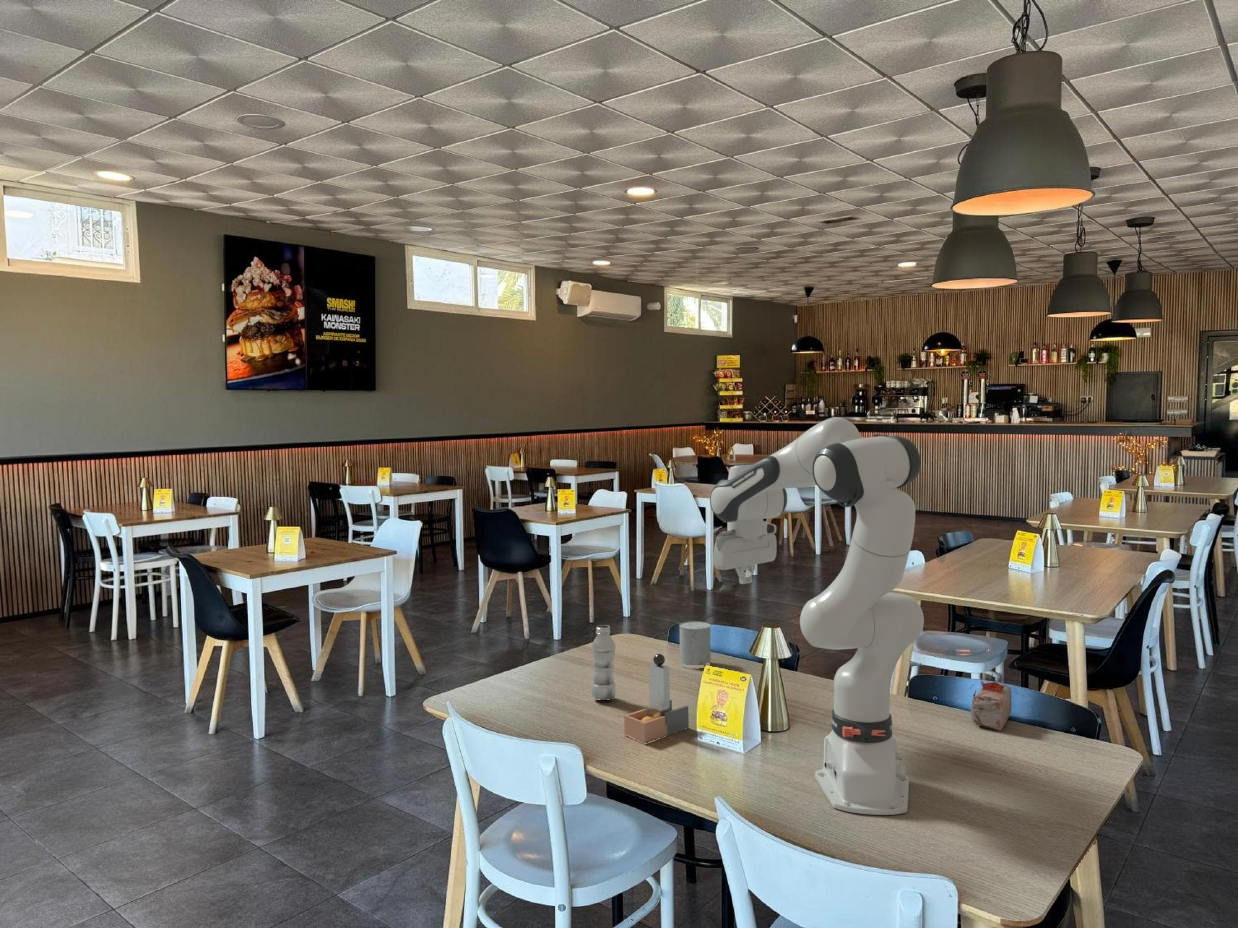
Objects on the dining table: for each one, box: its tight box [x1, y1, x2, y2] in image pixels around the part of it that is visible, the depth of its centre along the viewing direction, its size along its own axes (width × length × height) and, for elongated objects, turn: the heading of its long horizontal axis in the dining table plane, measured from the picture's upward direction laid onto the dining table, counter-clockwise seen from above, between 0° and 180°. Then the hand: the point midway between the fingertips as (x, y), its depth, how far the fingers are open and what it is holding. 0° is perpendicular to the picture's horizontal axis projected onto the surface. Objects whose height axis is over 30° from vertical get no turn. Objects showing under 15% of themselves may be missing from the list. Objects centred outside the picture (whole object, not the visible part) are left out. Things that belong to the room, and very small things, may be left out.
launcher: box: [646, 699, 690, 736], centre depth 202 cm, size 8×7×6 cm
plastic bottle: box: [591, 624, 617, 700], centre depth 223 cm, size 6×7×20 cm
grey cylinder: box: [679, 620, 711, 667], centre depth 254 cm, size 10×10×12 cm
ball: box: [641, 716, 653, 722], centre depth 198 cm, size 4×4×4 cm
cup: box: [623, 708, 668, 744], centre depth 197 cm, size 7×7×5 cm
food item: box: [970, 680, 1013, 732], centre depth 203 cm, size 14×8×10 cm, turn 147°
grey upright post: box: [647, 653, 671, 719], centre depth 199 cm, size 3×5×16 cm
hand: (745, 583), depth 207 cm, fingers closed
